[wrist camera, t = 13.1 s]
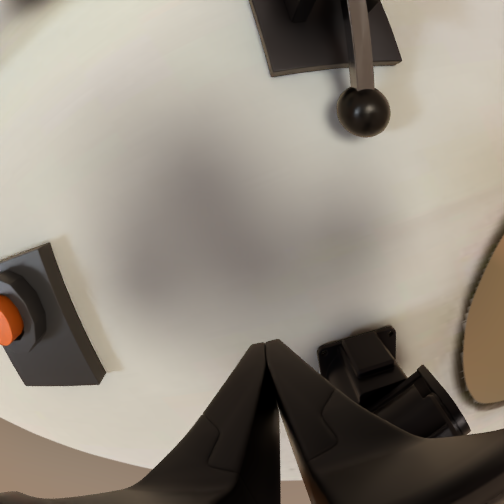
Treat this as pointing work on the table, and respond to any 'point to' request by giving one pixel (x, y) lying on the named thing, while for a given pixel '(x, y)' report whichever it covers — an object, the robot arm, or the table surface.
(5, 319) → the button
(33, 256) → the button block
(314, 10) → the bracket
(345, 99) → the lever
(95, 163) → the table surface
